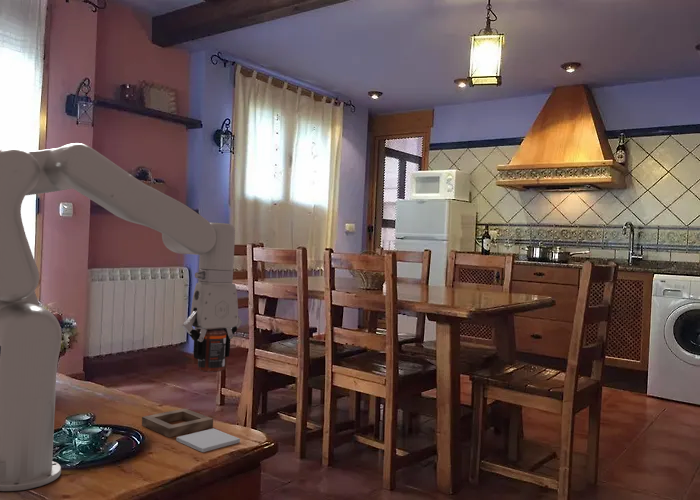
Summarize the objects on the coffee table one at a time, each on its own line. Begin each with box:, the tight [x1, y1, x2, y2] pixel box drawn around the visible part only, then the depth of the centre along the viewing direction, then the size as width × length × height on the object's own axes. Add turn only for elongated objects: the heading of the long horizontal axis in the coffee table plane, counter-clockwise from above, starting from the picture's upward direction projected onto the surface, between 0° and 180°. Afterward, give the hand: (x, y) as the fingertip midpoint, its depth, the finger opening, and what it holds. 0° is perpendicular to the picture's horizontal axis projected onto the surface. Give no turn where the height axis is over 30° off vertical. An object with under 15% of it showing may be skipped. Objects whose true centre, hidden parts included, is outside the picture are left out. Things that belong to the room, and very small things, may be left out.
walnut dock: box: [141, 407, 214, 438], centre depth 141 cm, size 12×12×2 cm
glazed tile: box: [175, 427, 241, 453], centre depth 132 cm, size 10×10×1 cm
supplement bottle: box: [197, 328, 226, 373], centre depth 131 cm, size 6×6×11 cm
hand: (211, 356), depth 131 cm, fingers closed on supplement bottle, 6 cm apart
